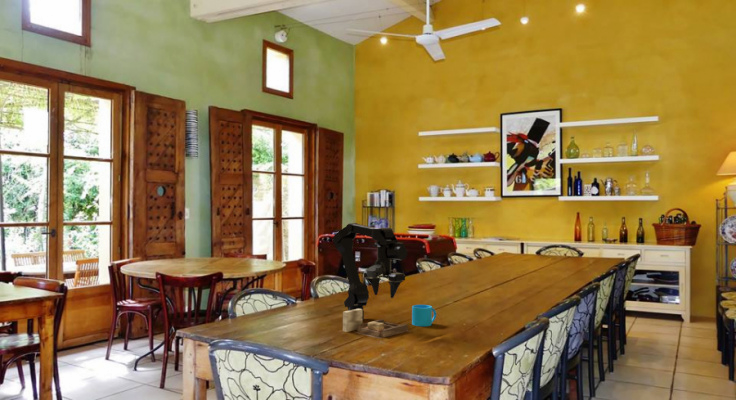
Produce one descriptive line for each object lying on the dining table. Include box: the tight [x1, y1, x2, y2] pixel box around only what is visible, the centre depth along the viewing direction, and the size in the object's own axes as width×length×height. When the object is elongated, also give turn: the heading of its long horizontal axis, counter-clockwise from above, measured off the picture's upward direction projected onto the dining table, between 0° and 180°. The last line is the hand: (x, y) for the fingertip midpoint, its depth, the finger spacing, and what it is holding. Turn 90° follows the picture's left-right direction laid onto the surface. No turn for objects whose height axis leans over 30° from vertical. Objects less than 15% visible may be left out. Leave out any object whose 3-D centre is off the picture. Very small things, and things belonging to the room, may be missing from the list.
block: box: [342, 308, 364, 333], centre depth 212 cm, size 9×2×8 cm, turn 137°
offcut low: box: [365, 327, 384, 335], centre depth 206 cm, size 7×4×2 cm, turn 47°
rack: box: [354, 319, 410, 339], centre depth 209 cm, size 14×18×3 cm
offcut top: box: [367, 320, 384, 330], centre depth 206 cm, size 5×4×2 cm
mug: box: [411, 304, 437, 327], centre depth 224 cm, size 12×8×8 cm
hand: (383, 296), depth 220 cm, fingers open, 9 cm apart
